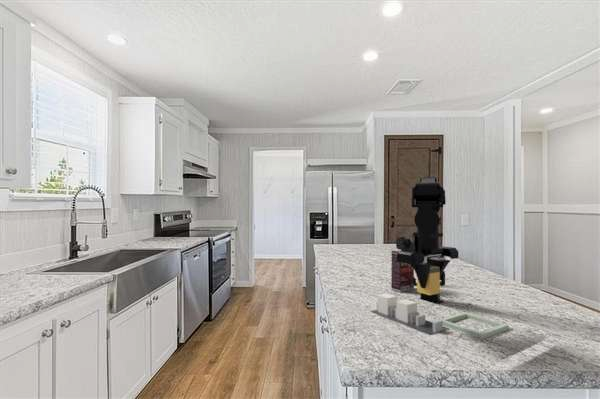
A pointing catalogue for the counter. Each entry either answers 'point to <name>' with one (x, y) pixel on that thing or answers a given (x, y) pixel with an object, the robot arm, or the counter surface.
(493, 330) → the tray
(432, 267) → the block
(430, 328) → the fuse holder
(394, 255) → the supplement box
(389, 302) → the block
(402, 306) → the block
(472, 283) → the counter surface
